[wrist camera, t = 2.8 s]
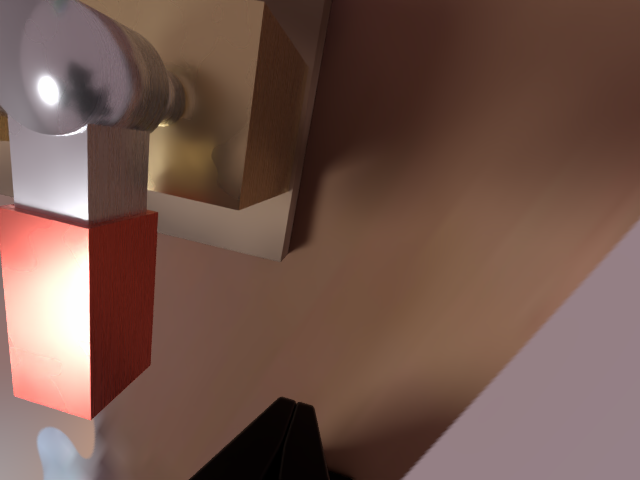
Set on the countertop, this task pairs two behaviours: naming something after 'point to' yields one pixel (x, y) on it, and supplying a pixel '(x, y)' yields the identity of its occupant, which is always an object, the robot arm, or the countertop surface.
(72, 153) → the valve lever
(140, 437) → the countertop surface
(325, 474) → the robot arm
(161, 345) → the countertop surface
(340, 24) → the countertop surface
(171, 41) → the pipe manifold
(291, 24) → the beige flat board
